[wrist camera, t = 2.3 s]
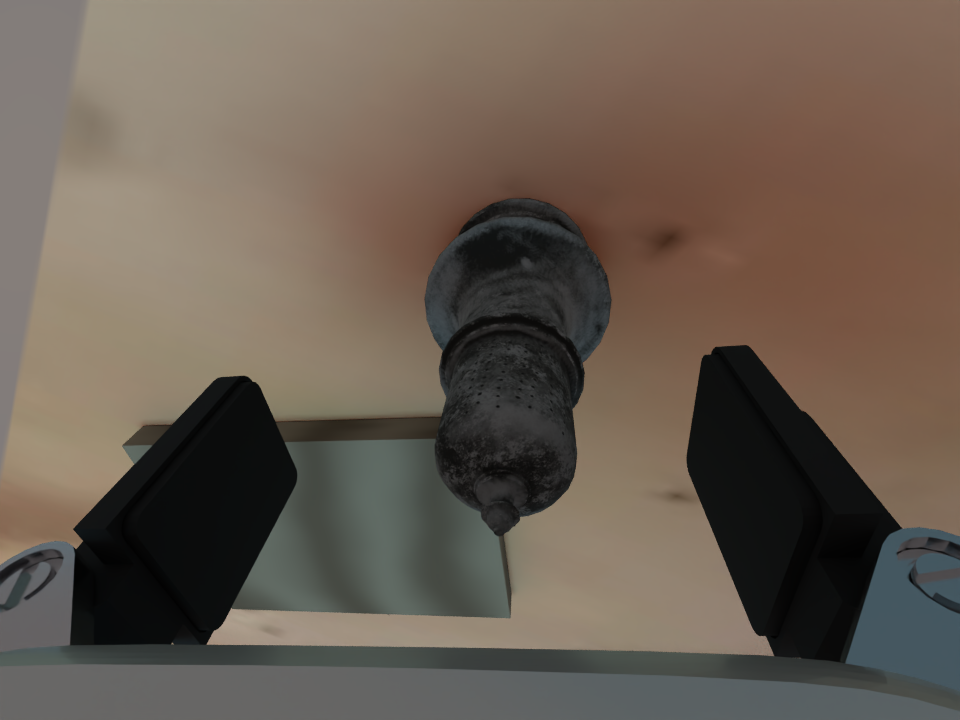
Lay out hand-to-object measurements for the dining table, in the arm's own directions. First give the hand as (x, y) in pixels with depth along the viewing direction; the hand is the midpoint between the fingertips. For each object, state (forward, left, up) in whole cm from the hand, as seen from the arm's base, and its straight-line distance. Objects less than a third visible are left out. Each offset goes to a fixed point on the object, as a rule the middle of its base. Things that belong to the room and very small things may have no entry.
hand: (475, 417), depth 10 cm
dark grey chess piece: (-1, 0, -9) cm, 9 cm away
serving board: (+10, +14, -9) cm, 20 cm away
